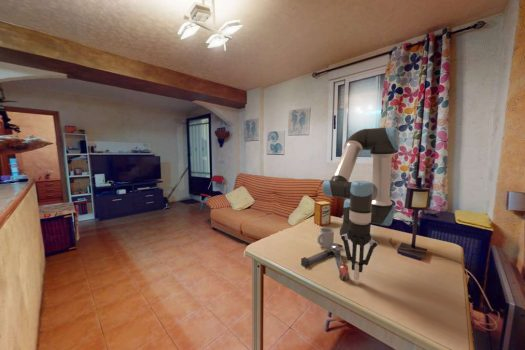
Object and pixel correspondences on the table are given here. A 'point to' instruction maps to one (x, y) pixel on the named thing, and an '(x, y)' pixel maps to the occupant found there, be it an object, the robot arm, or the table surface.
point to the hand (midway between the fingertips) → (356, 278)
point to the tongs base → (317, 257)
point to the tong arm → (340, 261)
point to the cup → (326, 237)
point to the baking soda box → (322, 213)
